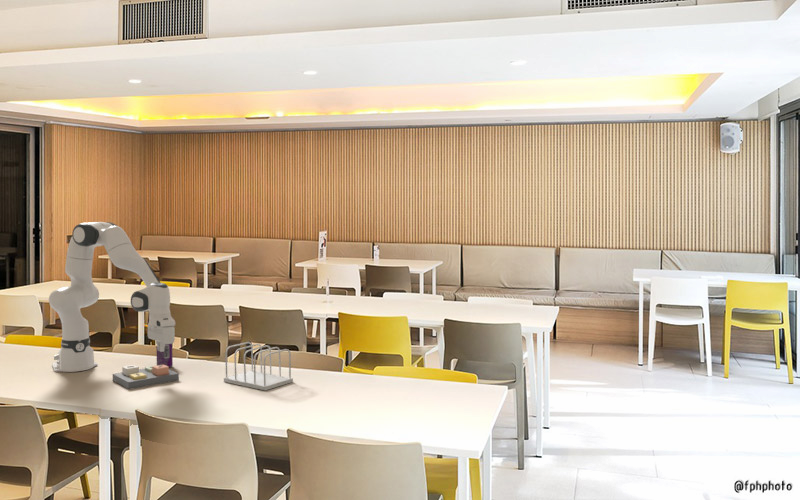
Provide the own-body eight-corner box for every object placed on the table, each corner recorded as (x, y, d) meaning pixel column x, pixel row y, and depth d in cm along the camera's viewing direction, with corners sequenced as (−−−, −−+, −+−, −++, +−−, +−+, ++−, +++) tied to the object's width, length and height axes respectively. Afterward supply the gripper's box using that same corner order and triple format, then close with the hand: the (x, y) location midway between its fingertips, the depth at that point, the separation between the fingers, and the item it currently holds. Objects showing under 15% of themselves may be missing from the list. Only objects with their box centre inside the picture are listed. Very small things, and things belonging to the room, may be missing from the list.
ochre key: (129, 381, 291) (129, 374, 291) (141, 379, 294) (141, 372, 294) (134, 384, 287) (134, 376, 287) (146, 382, 291) (146, 374, 290)
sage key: (145, 374, 303) (145, 366, 303) (156, 372, 307) (156, 365, 307) (149, 376, 300) (149, 369, 299) (161, 374, 303) (161, 367, 303)
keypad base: (112, 380, 296) (112, 373, 296) (161, 372, 311) (161, 365, 311) (128, 389, 283) (128, 382, 283) (178, 380, 298) (178, 373, 298)
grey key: (122, 373, 296) (122, 366, 296) (134, 371, 300) (134, 364, 300) (127, 376, 293) (126, 368, 292) (138, 374, 296) (138, 366, 296)
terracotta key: (152, 373, 297) (152, 365, 297) (163, 371, 301) (163, 364, 301) (157, 375, 294) (157, 368, 293) (168, 373, 297) (168, 366, 297)
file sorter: (293, 382, 297) (293, 347, 296) (265, 391, 282) (264, 354, 281) (252, 374, 311) (252, 340, 309) (223, 382, 296) (223, 347, 295)
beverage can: (175, 365, 323) (174, 340, 323) (168, 369, 316) (168, 344, 316) (160, 365, 324) (160, 340, 323) (154, 368, 317) (153, 343, 316)
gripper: (143, 317, 301) (144, 348, 302) (162, 323, 286) (163, 356, 287) (157, 316, 305) (158, 346, 306) (177, 322, 290) (178, 353, 291)
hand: (161, 351), depth 296 cm, fingers closed
